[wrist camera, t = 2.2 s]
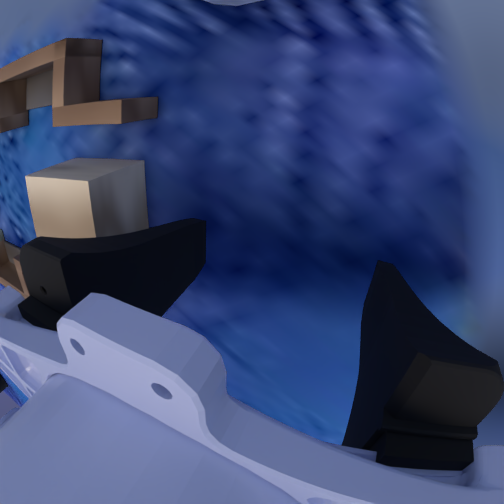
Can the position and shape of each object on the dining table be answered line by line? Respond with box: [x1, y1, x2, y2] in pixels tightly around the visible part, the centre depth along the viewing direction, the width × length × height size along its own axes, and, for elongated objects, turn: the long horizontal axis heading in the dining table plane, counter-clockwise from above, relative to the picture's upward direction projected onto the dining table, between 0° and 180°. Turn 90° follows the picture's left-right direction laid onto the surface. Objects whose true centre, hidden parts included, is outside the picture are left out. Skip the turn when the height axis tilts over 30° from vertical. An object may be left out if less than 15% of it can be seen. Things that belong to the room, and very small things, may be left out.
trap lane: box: [0, 38, 158, 299], centre depth 18 cm, size 19×26×2 cm
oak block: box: [25, 158, 149, 238], centre depth 15 cm, size 6×6×4 cm
